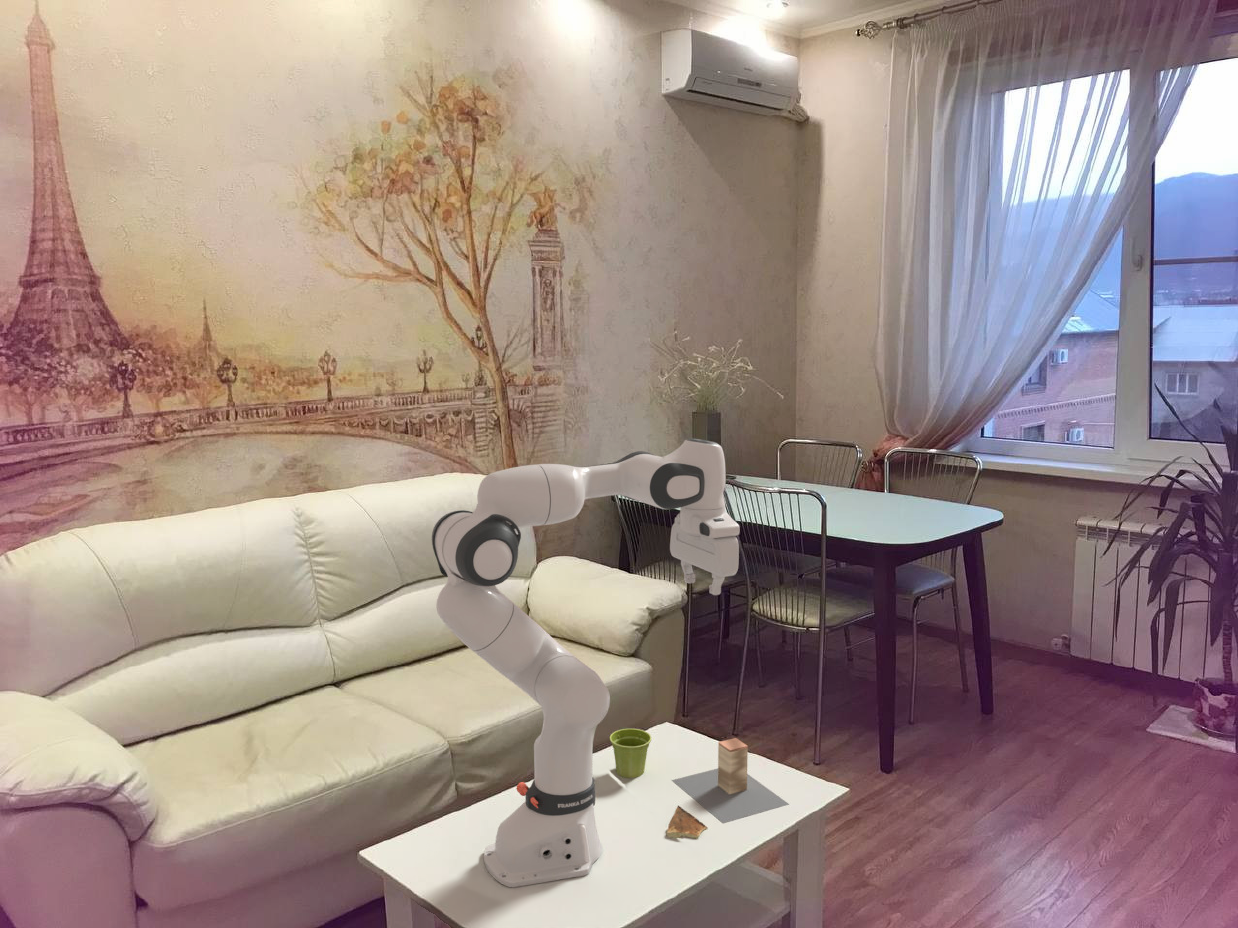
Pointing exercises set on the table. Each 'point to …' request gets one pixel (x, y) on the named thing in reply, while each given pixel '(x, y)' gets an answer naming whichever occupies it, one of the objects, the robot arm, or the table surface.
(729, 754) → the birch block
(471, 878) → the table surface
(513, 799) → the table surface
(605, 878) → the table surface
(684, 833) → the shard
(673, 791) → the table surface
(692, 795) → the rubber mat
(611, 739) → the plant pot
